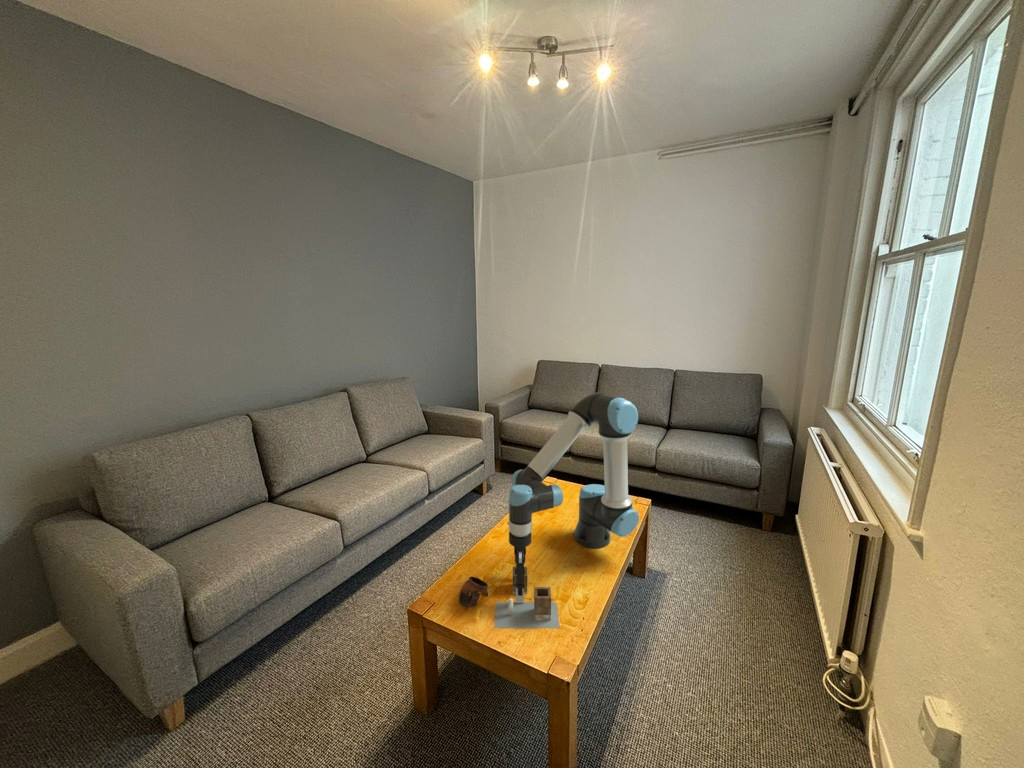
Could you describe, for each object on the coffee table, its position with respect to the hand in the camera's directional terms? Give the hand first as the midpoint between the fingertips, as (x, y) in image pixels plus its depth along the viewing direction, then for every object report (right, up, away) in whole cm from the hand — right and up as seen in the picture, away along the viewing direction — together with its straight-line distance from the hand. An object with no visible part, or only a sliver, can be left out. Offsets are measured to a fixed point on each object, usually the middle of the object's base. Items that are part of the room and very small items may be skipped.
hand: (519, 591), depth 143 cm
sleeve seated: (+7, -2, -11) cm, 13 cm away
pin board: (+2, -3, -10) cm, 11 cm away
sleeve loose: (0, -1, +1) cm, 2 cm away
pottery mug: (-15, -2, -3) cm, 16 cm away
